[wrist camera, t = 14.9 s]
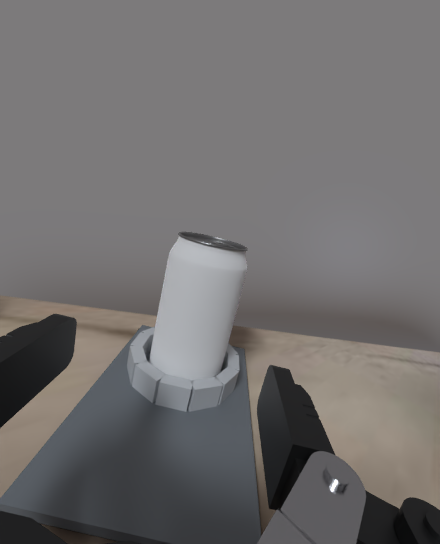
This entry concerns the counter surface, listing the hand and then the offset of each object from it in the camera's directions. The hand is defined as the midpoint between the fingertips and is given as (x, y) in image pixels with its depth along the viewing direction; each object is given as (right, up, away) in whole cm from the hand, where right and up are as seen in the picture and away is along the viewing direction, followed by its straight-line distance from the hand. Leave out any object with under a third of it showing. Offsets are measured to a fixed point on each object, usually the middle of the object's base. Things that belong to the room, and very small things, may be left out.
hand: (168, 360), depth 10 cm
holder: (-2, -6, +10) cm, 12 cm away
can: (-1, -5, +13) cm, 14 cm away
